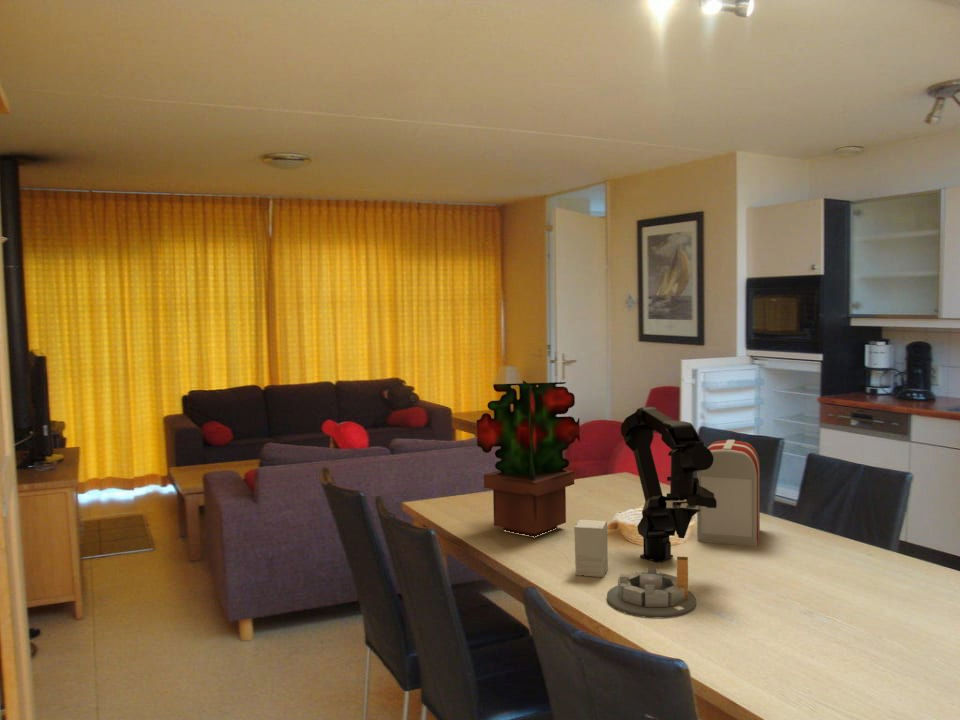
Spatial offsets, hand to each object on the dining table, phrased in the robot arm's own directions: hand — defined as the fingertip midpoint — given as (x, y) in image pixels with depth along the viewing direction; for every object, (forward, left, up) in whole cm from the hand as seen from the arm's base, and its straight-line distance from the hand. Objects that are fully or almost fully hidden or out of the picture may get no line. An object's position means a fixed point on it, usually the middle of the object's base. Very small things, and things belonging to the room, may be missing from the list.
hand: (681, 538), depth 194 cm
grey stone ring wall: (+2, -15, -10) cm, 18 cm away
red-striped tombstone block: (-13, +44, -11) cm, 48 cm away
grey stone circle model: (+2, -15, -11) cm, 19 cm away
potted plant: (-59, +8, -11) cm, 61 cm away
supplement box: (-21, -9, -11) cm, 25 cm away
